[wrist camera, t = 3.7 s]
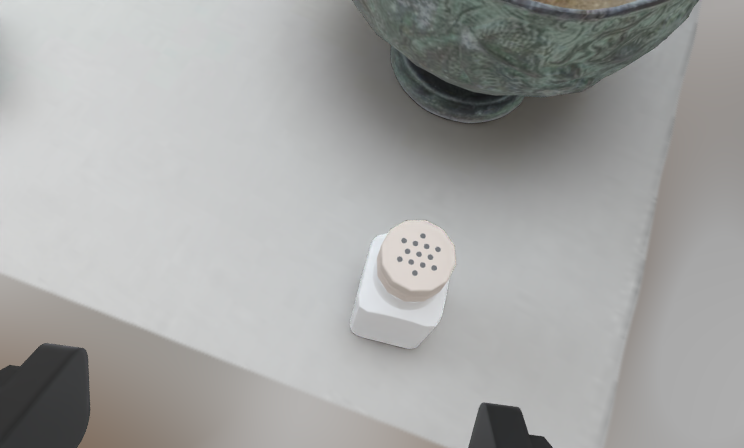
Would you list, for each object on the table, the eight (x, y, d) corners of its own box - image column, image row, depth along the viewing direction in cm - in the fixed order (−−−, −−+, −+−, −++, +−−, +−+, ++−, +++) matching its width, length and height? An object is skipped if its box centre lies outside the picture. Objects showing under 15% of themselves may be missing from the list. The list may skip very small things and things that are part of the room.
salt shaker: (363, 268, 34) (383, 199, 25) (430, 285, 34) (473, 223, 25) (346, 335, 33) (360, 287, 24) (417, 353, 33) (457, 312, 24)
